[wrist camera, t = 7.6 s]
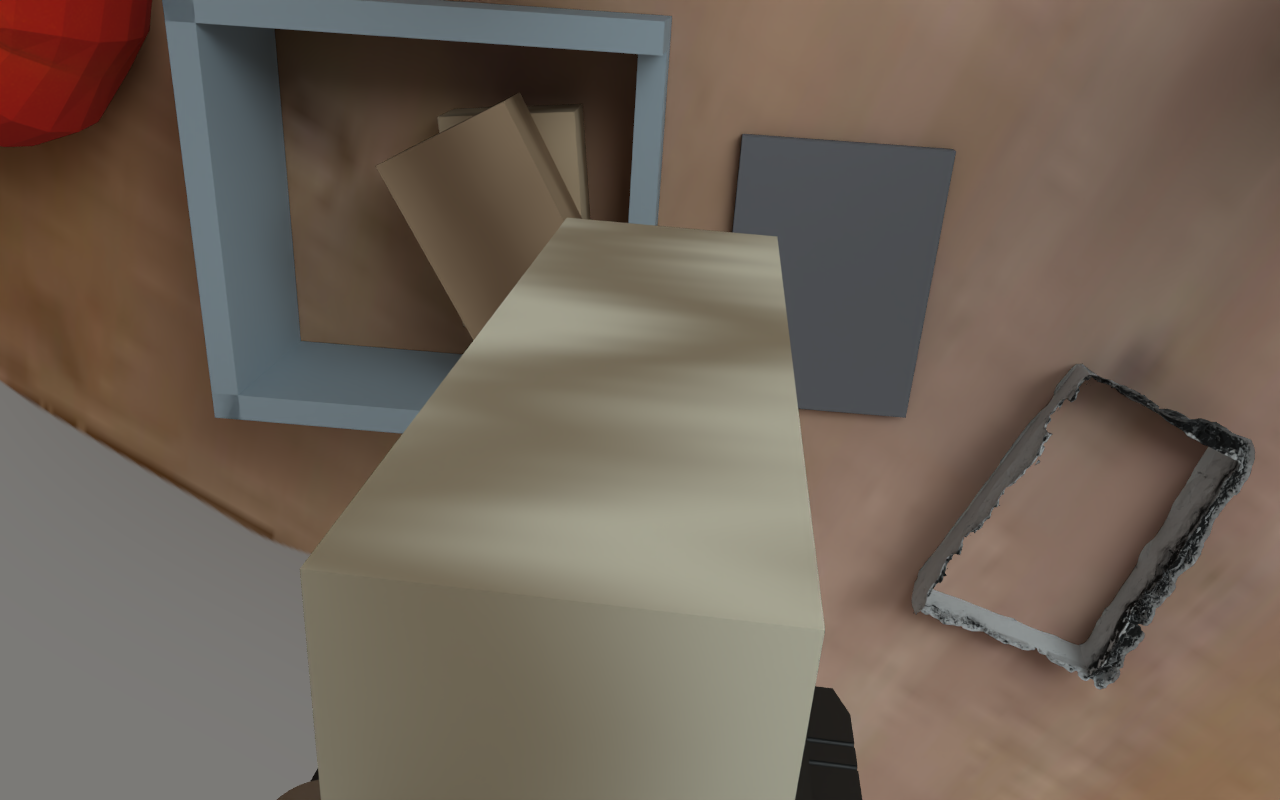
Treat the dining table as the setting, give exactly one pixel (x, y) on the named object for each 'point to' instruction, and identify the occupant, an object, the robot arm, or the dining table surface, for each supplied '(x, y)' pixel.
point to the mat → (848, 259)
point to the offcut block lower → (551, 143)
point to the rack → (259, 202)
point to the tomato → (63, 63)
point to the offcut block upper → (481, 204)
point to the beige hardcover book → (584, 546)
